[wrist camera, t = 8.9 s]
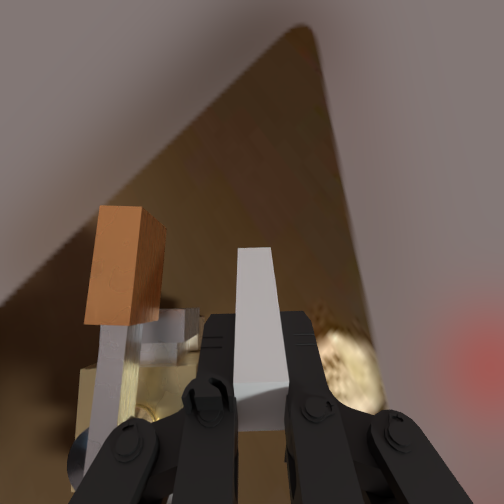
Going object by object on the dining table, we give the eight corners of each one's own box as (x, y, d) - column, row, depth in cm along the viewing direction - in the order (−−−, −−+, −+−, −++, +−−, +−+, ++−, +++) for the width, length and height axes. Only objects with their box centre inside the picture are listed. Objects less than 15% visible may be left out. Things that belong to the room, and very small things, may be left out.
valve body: (213, 470, 23) (191, 568, 14) (129, 472, 23) (57, 573, 14) (213, 307, 25) (194, 309, 17) (136, 308, 25) (79, 312, 17)
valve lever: (156, 466, 15) (123, 525, 11) (96, 464, 15) (41, 522, 11) (176, 228, 17) (154, 207, 13) (124, 227, 17) (87, 204, 13)
